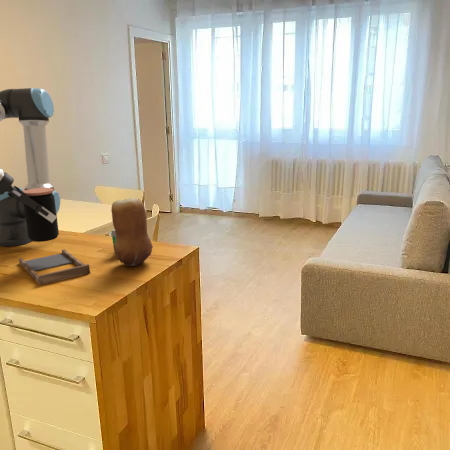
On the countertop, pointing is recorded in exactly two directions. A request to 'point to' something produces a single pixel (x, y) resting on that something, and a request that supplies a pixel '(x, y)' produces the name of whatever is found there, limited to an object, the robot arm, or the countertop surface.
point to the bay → (58, 275)
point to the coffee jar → (36, 223)
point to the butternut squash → (131, 231)
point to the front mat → (48, 262)
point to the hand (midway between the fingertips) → (49, 216)
